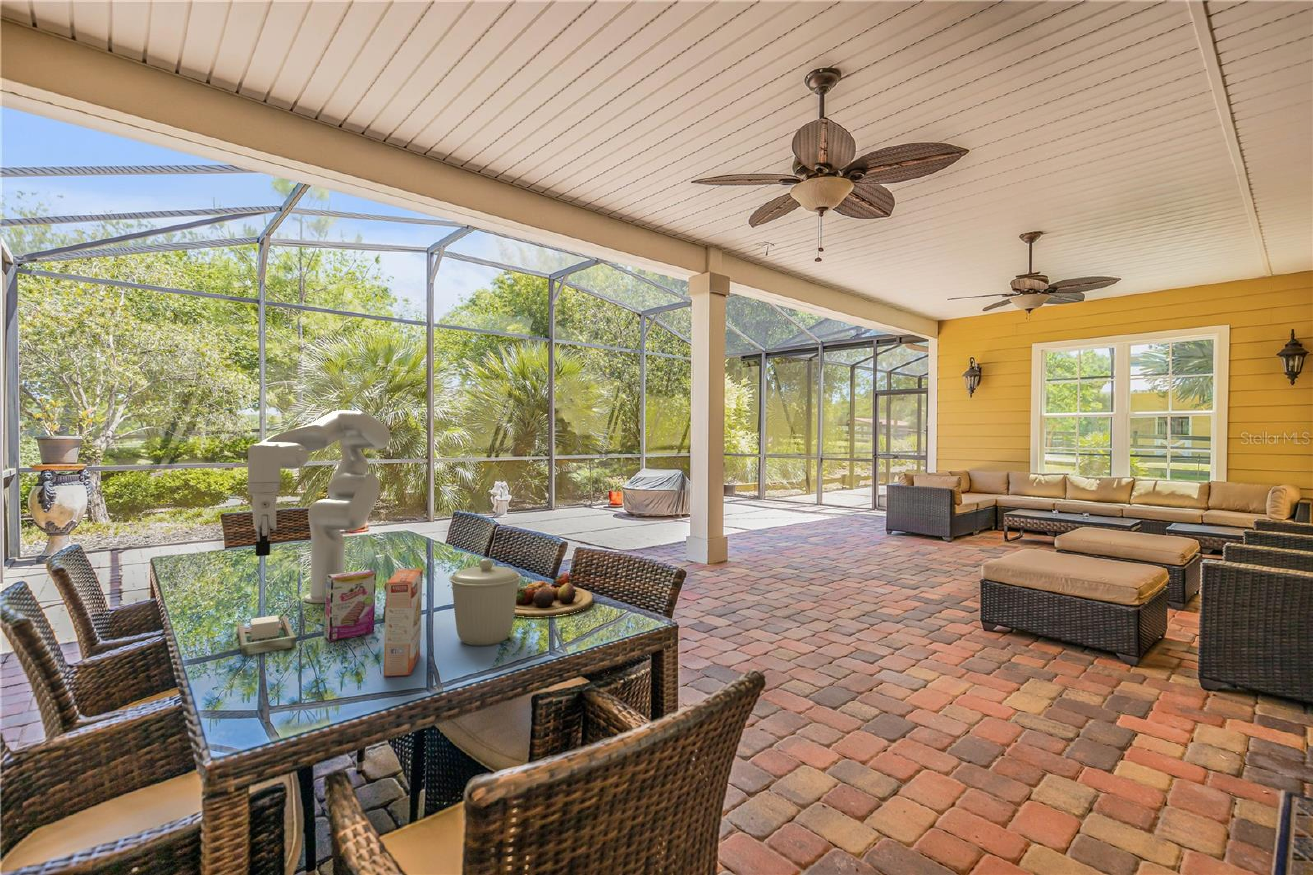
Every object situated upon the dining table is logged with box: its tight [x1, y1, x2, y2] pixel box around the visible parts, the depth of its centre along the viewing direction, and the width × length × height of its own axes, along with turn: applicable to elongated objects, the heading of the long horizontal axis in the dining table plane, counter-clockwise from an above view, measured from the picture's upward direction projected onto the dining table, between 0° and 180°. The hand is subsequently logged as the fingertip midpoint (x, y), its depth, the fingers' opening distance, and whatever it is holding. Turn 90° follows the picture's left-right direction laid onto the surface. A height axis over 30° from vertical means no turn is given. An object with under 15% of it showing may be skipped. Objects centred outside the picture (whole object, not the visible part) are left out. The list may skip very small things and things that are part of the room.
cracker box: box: [383, 568, 424, 677], centre depth 140 cm, size 14×6×21 cm, turn 12°
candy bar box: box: [323, 569, 377, 643], centre depth 160 cm, size 11×5×16 cm, turn 134°
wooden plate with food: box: [514, 572, 594, 617], centre depth 194 cm, size 32×32×8 cm
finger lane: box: [237, 615, 297, 656], centre depth 157 cm, size 11×23×2 cm, turn 37°
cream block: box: [250, 614, 280, 640], centre depth 160 cm, size 6×6×4 cm
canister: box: [449, 558, 522, 646], centre depth 159 cm, size 18×18×21 cm
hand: (262, 555), depth 168 cm, fingers closed
